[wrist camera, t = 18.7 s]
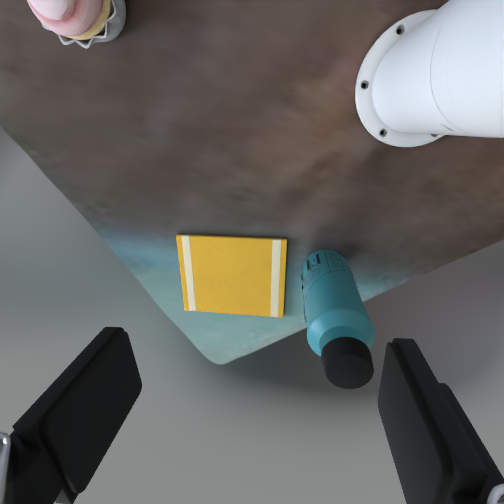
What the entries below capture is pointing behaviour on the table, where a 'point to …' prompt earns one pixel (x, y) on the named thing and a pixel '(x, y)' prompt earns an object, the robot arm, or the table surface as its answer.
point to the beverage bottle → (337, 320)
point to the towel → (233, 274)
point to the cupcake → (81, 19)
